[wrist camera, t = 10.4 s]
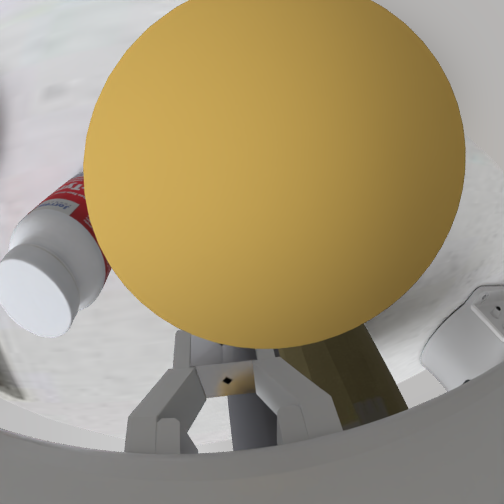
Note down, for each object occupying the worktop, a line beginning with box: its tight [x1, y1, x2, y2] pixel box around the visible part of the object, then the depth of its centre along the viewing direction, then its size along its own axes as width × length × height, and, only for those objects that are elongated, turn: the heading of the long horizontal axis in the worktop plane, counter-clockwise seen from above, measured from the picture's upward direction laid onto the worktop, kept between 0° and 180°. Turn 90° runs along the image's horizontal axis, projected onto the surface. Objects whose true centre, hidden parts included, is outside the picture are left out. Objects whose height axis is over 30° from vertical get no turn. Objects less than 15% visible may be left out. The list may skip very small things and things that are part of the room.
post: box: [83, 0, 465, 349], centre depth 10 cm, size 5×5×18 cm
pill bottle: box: [0, 172, 111, 338], centre depth 15 cm, size 6×6×11 cm
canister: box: [278, 324, 408, 431], centre depth 21 cm, size 11×10×20 cm
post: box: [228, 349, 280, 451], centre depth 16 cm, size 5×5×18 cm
